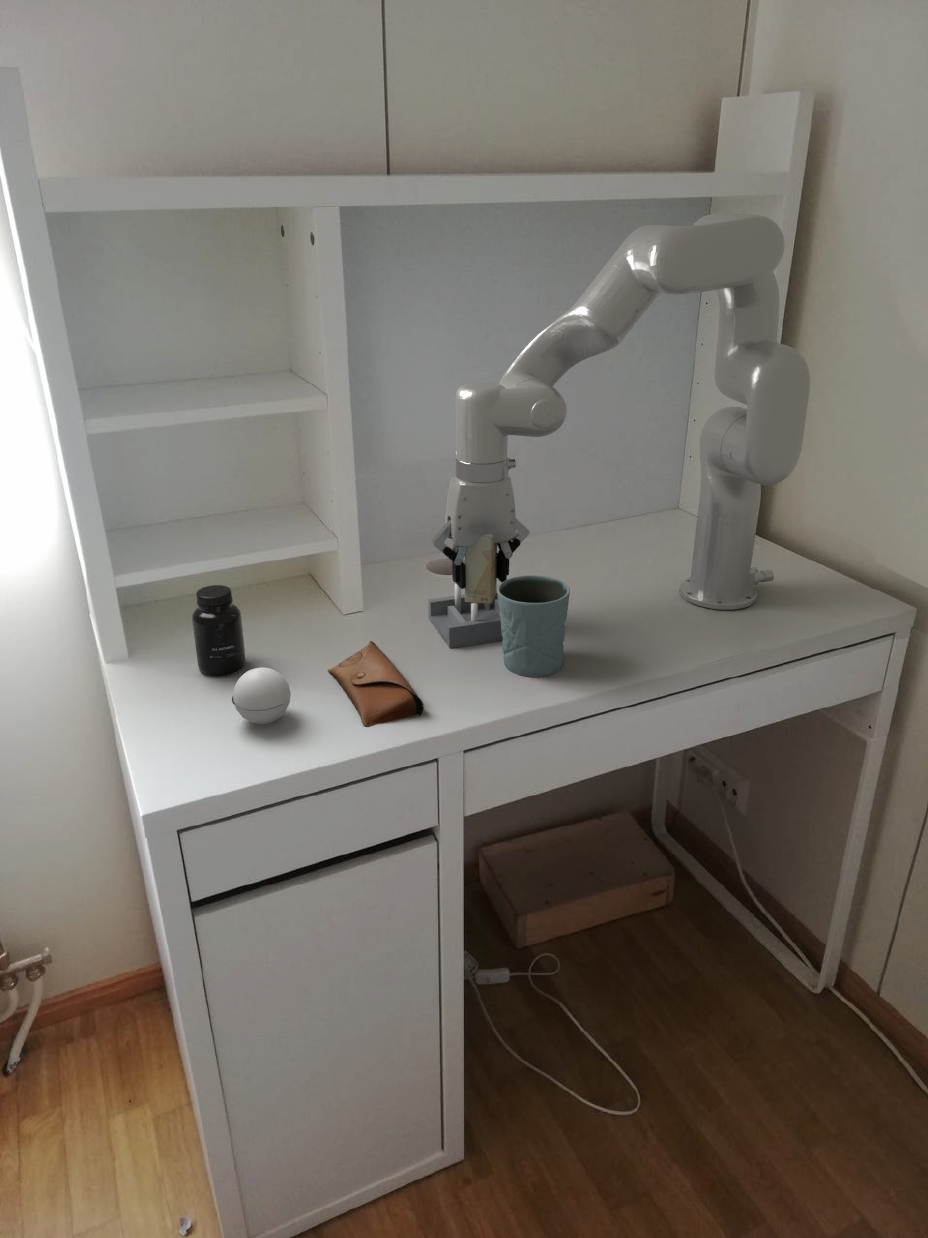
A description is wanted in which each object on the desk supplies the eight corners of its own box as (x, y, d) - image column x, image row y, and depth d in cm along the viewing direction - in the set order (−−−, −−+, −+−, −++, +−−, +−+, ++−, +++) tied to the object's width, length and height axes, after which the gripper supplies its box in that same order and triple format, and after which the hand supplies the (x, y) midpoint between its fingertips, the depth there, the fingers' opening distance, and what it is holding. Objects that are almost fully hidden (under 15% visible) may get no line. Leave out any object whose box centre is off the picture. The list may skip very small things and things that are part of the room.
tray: (509, 606, 151) (510, 573, 148) (535, 634, 141) (536, 599, 139) (428, 618, 147) (427, 584, 144) (449, 648, 137) (449, 612, 135)
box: (491, 604, 139) (492, 536, 134) (463, 602, 140) (463, 534, 135) (497, 591, 144) (498, 524, 139) (470, 589, 145) (470, 523, 140)
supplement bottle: (222, 682, 128) (212, 605, 123) (188, 670, 132) (177, 594, 127) (256, 662, 134) (248, 587, 129) (223, 651, 137) (213, 578, 132)
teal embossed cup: (579, 669, 131) (584, 593, 126) (521, 687, 127) (522, 609, 122) (540, 642, 139) (543, 569, 134) (483, 657, 135) (484, 583, 130)
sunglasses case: (322, 668, 132) (342, 628, 130) (363, 681, 136) (382, 642, 134) (364, 729, 117) (387, 684, 116) (409, 741, 121) (431, 698, 120)
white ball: (252, 702, 123) (246, 654, 120) (302, 710, 122) (297, 661, 118) (214, 741, 115) (206, 690, 112) (267, 750, 113) (260, 699, 110)
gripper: (526, 458, 139) (523, 567, 147) (417, 468, 134) (420, 580, 142) (545, 471, 132) (541, 584, 140) (432, 482, 128) (434, 599, 135)
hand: (480, 581), depth 141 cm, fingers closed on box, 6 cm apart
